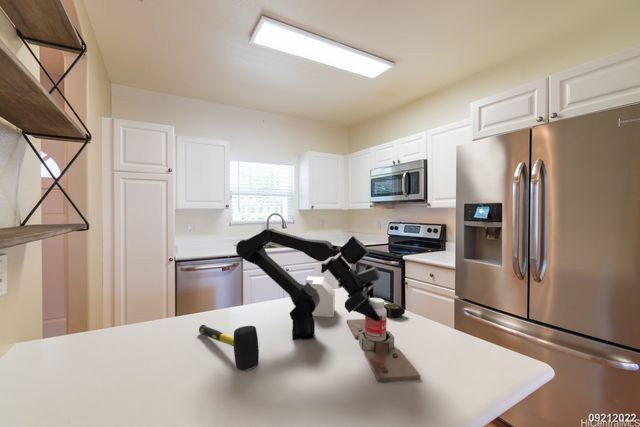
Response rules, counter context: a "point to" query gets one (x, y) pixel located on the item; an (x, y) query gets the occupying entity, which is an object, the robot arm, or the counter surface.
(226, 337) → the mallet
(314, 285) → the white block
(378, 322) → the pill bottle
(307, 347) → the counter surface
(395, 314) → the tape measure
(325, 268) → the robot arm
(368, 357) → the brown mounting plate
